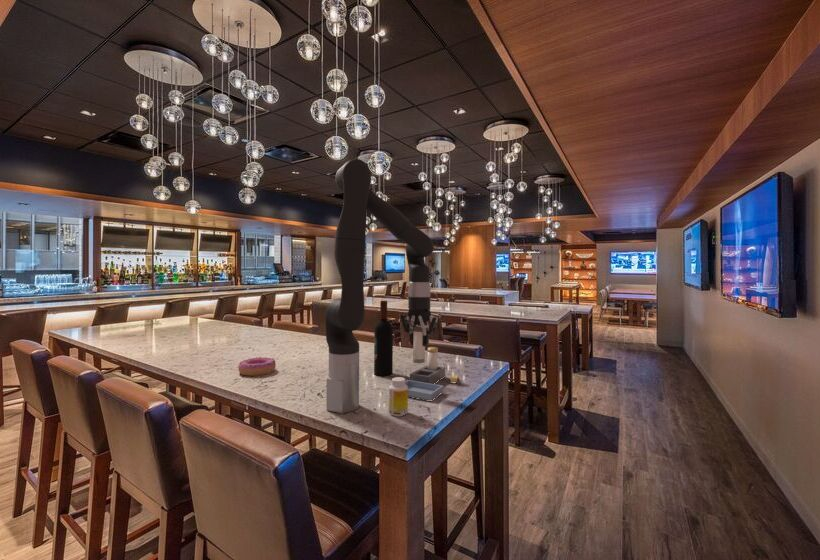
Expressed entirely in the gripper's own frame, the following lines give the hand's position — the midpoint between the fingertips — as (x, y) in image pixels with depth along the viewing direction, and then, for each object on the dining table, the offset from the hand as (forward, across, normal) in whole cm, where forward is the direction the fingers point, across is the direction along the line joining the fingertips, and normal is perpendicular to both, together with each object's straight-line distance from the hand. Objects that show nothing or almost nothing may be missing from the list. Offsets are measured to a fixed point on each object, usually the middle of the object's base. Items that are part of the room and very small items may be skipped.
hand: (419, 345), depth 124 cm
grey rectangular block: (+17, -4, +15) cm, 23 cm away
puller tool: (+17, +5, +20) cm, 27 cm away
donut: (+17, -70, -8) cm, 73 cm away
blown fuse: (+6, 0, 0) cm, 6 cm away
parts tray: (+17, 0, 0) cm, 17 cm away
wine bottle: (+17, -24, +14) cm, 32 cm away
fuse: (+17, -4, +19) cm, 26 cm away
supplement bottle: (+17, +2, -19) cm, 25 cm away
